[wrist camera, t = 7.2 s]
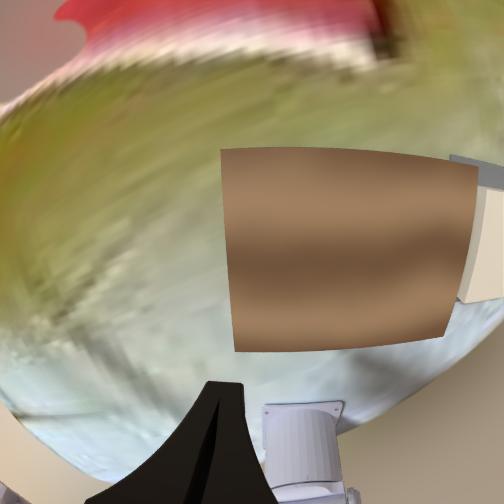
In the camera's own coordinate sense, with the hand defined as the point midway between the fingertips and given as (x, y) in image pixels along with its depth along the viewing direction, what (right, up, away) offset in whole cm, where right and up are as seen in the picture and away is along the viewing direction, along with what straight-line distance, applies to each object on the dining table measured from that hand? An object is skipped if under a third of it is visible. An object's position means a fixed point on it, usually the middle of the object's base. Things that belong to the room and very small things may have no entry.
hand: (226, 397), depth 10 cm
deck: (+7, +7, +8) cm, 13 cm away
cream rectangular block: (+21, +6, +5) cm, 22 cm away
